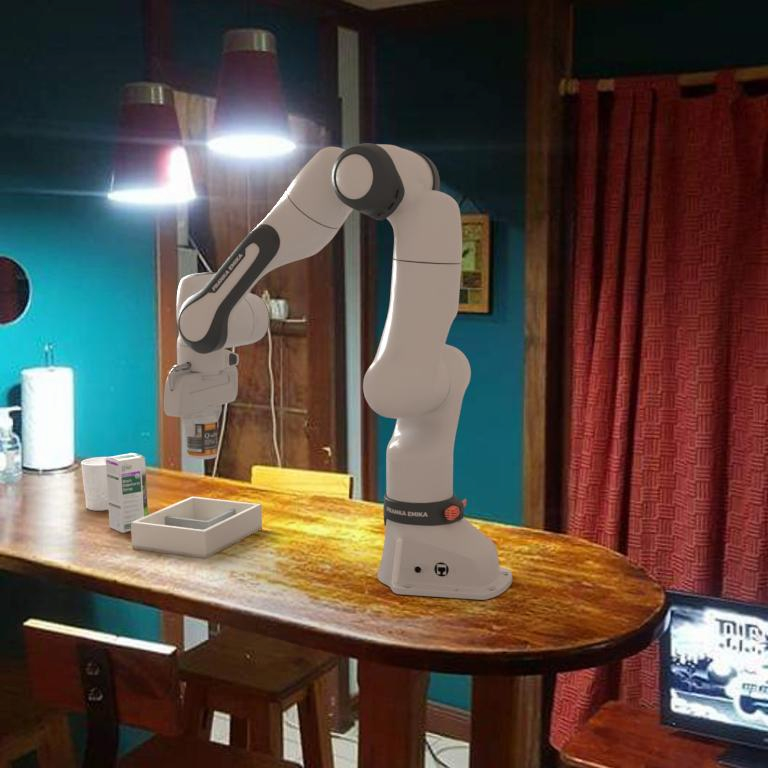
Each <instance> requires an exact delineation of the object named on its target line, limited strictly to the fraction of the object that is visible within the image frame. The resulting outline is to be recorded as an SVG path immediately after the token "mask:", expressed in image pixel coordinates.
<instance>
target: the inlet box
mask: <svg viewBox="0 0 768 768" xmlns="http://www.w3.org/2000/svg"><path fill="white" fill-rule="evenodd" d="M262 511H263V510H262V503H255V502H254V503H253V502H246V501H245V502H244V501H236V500H235V501H234V500H226V499H217V498H209V497H200V496H190V497H188V498H185V499H183V500H181V501H178V502H175V503H173V504H171V505H169V506H166V507H163V508H162V509H159V510H157V511H154V512H151V513H148V515H147V516H145V517H142V518H140V519H138V520H135V521H133V522H131V531H130V533H131V535H130V537H131V549H132V548H133V550H139V549H140V550H141V551H146V550H147V551H148V552H155V553H163V554H170V555H175V554H176V555H175V556H177V555H178V556H183V555H184V556H183V557H192V558H198V559H208V558H210V557H212V556H213V555H215V554H218V553H219V552H221V551H223V550H225V549H227V548H229V547H231V546H233V545H235V544H236V542H237V543H239V542H240V541H242V540H244V539H246V538H248V537H250V536H252V535H254V534H256V533H257V532H259V531H261V530H262V529H263V514H262V513H263V512H262ZM260 529H261V530H260ZM258 530H259V531H258ZM256 531H257V532H256ZM253 533H254V534H253ZM251 534H252V535H251ZM249 535H250V536H249ZM247 536H248V537H247ZM245 537H246V538H245ZM243 538H244V539H243ZM241 539H242V540H241ZM234 543H235V544H234ZM232 544H233V545H232ZM226 547H227V548H226ZM140 550H139V551H140Z"/></svg>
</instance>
